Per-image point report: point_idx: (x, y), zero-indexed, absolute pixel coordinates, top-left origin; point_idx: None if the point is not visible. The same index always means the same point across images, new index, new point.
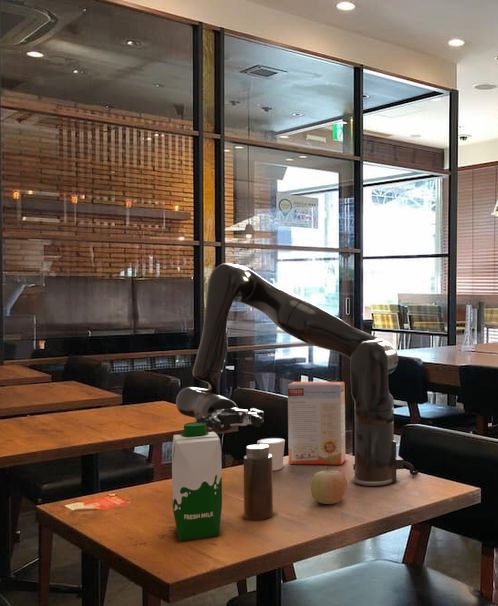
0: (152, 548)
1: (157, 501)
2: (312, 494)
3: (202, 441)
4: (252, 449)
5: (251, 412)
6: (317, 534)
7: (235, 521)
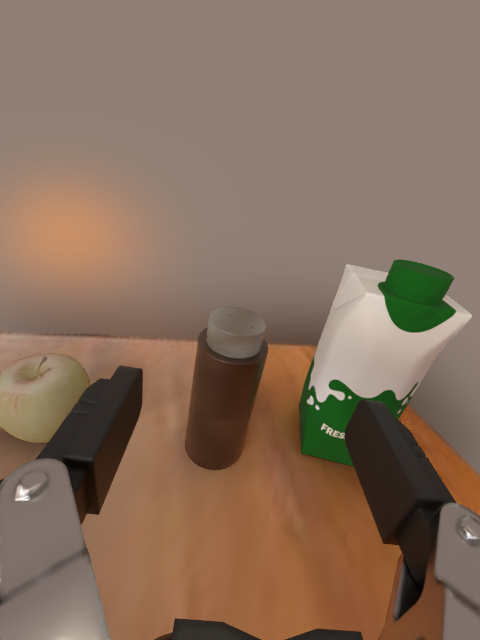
0: None
1: None
2: None
3: (379, 271)
4: (257, 315)
5: (4, 550)
6: (184, 345)
7: (262, 443)
